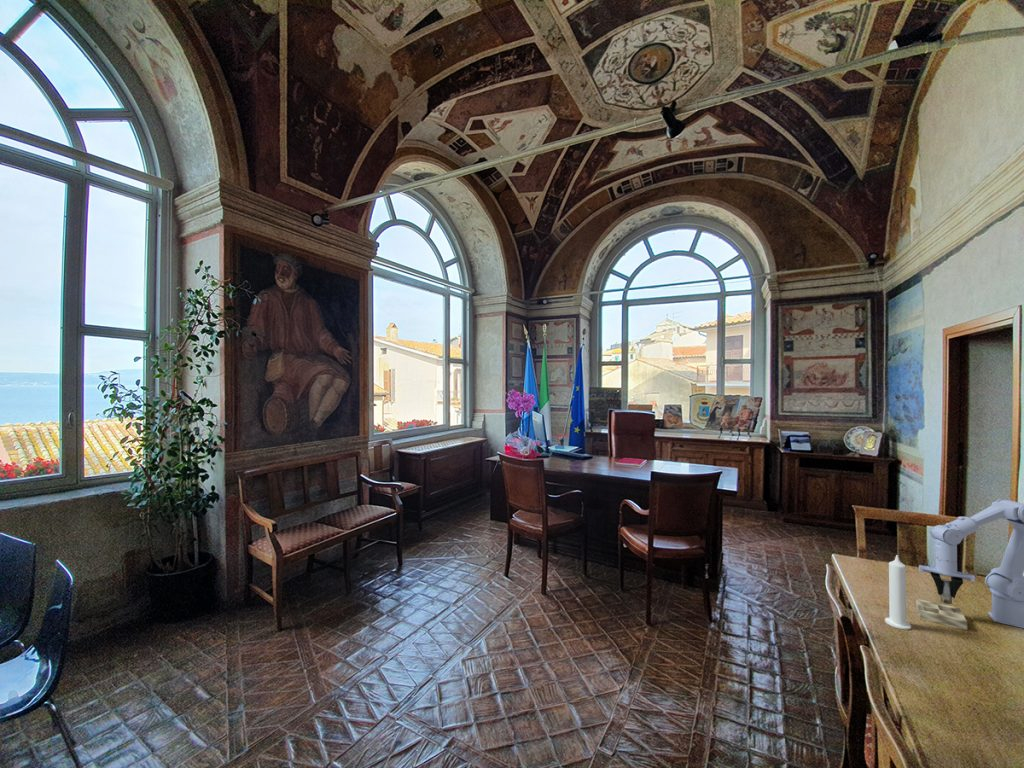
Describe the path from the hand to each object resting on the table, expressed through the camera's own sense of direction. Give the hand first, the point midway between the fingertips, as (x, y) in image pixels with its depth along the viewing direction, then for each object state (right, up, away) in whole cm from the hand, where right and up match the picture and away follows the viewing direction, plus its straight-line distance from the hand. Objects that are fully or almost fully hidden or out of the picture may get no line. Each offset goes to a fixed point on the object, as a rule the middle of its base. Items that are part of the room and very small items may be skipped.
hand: (946, 595), depth 158 cm
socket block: (-3, -8, 0) cm, 9 cm away
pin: (0, -3, 0) cm, 3 cm away
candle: (-23, -8, -5) cm, 25 cm away
